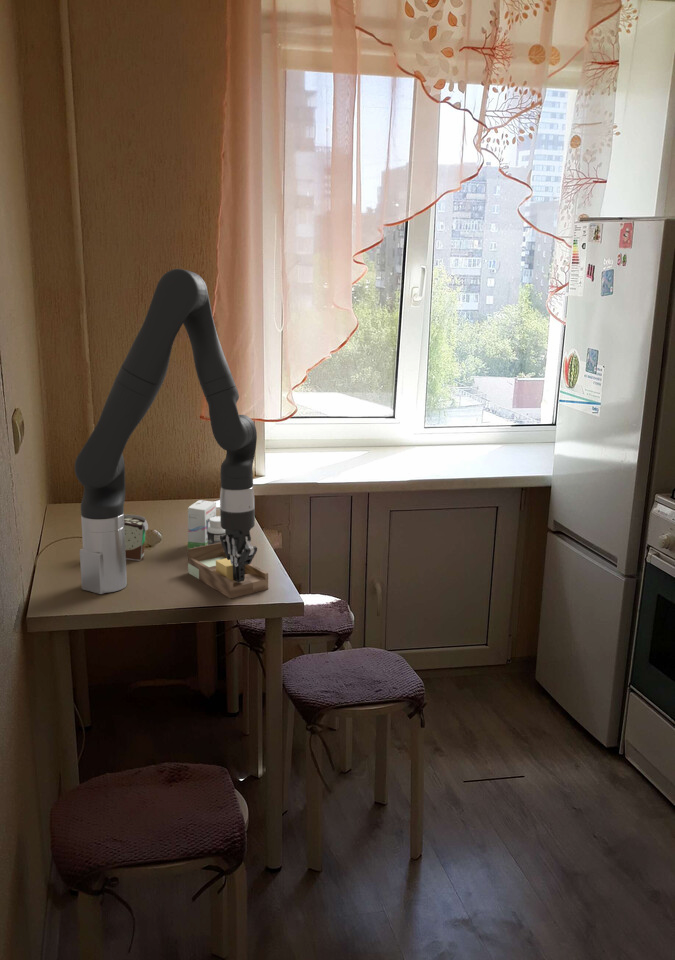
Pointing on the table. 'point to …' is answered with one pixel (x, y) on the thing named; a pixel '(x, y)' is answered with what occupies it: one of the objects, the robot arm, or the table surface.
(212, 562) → the pad
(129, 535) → the food container
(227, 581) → the board
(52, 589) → the table surface
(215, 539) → the pill bottle
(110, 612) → the table surface
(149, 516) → the table surface
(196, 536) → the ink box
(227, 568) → the ochre block
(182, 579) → the table surface
